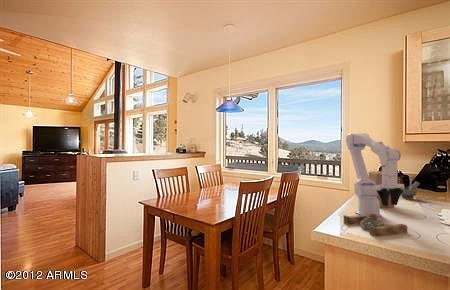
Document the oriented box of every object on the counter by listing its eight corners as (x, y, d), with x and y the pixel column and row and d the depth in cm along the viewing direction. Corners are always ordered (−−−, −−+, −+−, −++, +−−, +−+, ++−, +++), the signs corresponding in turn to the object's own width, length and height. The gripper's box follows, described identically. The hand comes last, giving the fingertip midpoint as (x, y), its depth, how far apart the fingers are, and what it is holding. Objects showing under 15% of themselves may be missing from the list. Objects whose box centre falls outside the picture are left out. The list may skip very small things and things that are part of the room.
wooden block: (384, 203, 142) (384, 171, 141) (395, 207, 132) (395, 173, 132) (368, 203, 143) (367, 171, 142) (377, 207, 133) (376, 173, 133)
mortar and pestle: (398, 198, 152) (398, 181, 152) (398, 196, 160) (398, 179, 160) (420, 201, 145) (420, 182, 145) (419, 198, 153) (419, 180, 153)
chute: (372, 219, 112) (372, 212, 112) (407, 232, 95) (407, 224, 95) (343, 223, 108) (343, 215, 108) (374, 236, 91) (374, 228, 91)
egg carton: (369, 223, 108) (369, 214, 108) (387, 228, 101) (387, 219, 101) (357, 228, 102) (357, 218, 102) (375, 233, 95) (375, 223, 95)
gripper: (384, 177, 98) (384, 208, 98) (410, 175, 101) (411, 206, 101) (370, 175, 105) (370, 204, 105) (395, 173, 108) (395, 202, 108)
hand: (389, 205), depth 104 cm, fingers open, 5 cm apart
